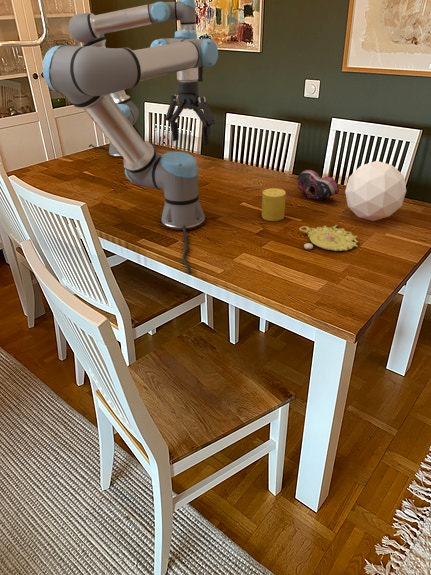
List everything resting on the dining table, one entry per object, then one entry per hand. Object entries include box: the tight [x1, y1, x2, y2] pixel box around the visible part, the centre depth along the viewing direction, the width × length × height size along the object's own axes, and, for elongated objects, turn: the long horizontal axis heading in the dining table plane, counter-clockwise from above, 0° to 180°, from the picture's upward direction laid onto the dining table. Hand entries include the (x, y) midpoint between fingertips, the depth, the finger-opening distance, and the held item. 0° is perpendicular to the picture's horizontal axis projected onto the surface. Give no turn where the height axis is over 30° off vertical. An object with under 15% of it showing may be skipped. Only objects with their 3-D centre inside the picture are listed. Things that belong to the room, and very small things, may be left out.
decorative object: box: [299, 224, 359, 252], centre depth 141 cm, size 21×2×20 cm
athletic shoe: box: [294, 169, 340, 201], centre depth 171 cm, size 11×22×12 cm
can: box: [261, 187, 287, 222], centre depth 156 cm, size 8×8×9 cm
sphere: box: [344, 160, 407, 222], centre depth 150 cm, size 19×20×20 cm
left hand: (191, 83), depth 223 cm, fingers open, 13 cm apart
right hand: (190, 142), depth 167 cm, fingers open, 13 cm apart
